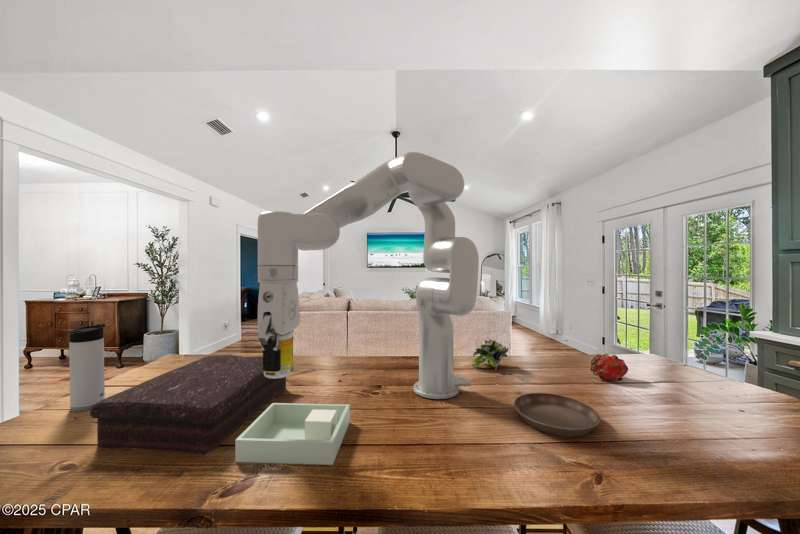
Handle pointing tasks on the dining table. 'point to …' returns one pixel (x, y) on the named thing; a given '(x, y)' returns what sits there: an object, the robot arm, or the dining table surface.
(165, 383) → the folded brown towel
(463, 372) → the dining table surface
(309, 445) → the pale green tray
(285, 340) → the supplement bottle
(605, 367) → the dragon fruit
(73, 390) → the travel mug
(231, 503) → the dining table surface
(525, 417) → the plant saucer
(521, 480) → the dining table surface
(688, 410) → the dining table surface
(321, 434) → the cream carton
